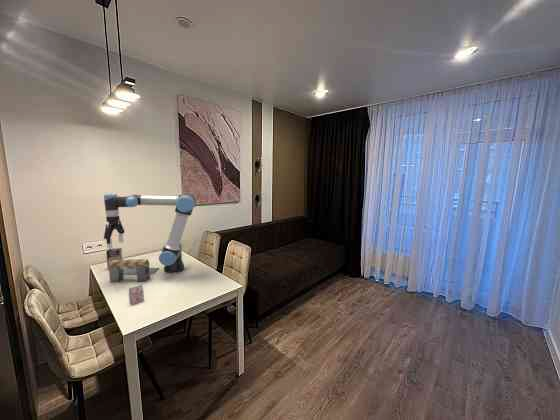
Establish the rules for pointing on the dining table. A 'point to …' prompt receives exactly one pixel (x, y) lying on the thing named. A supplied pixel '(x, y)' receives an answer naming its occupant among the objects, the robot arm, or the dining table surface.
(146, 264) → the rail
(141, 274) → the post
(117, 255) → the coffee box
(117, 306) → the dining table surface
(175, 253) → the robot arm
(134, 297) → the pink rectangular block
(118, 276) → the post
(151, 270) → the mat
